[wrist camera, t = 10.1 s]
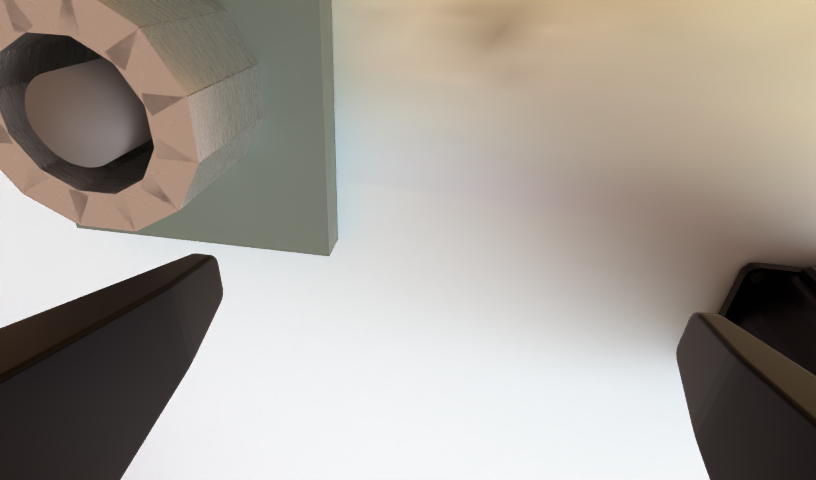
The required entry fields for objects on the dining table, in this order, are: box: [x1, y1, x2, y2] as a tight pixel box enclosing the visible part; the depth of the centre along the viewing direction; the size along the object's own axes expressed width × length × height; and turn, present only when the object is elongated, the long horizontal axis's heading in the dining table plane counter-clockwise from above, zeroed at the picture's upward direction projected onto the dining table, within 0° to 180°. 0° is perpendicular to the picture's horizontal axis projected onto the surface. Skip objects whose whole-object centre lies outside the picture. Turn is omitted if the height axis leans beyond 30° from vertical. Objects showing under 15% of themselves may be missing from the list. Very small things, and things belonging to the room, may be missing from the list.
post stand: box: [25, 0, 338, 256], centre depth 16 cm, size 14×12×6 cm
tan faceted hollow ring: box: [0, 0, 264, 232], centre depth 16 cm, size 7×7×5 cm
